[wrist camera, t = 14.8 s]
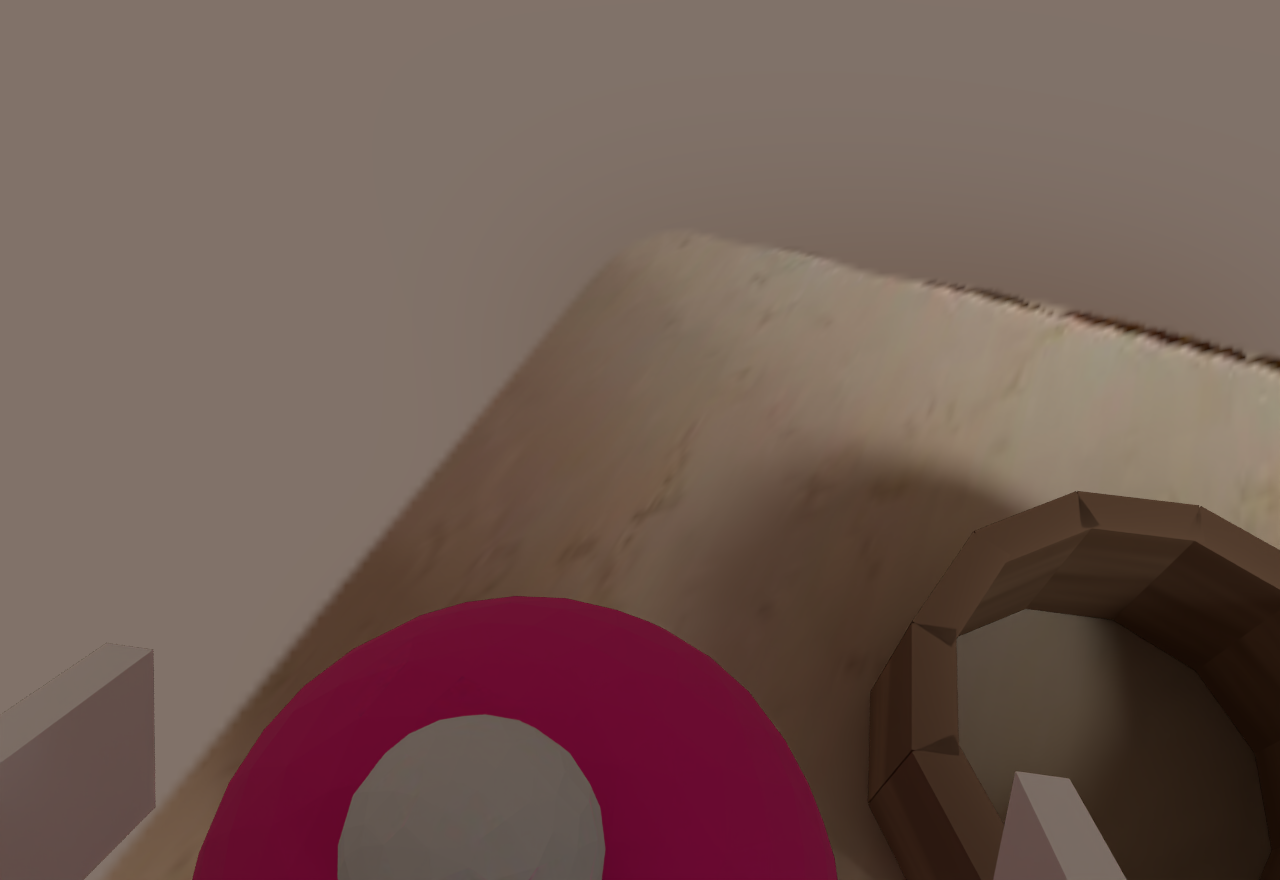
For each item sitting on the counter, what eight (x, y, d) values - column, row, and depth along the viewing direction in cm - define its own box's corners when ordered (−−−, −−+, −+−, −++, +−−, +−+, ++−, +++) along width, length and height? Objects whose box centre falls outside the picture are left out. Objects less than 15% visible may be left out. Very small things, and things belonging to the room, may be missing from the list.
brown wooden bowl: (1368, 739, 27) (1504, 676, 23) (1207, 1136, 22) (1339, 1151, 18) (992, 511, 30) (1048, 420, 26) (787, 813, 26) (815, 762, 22)
